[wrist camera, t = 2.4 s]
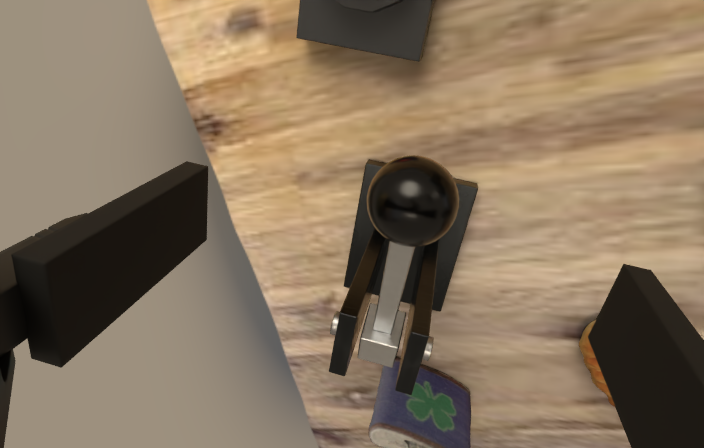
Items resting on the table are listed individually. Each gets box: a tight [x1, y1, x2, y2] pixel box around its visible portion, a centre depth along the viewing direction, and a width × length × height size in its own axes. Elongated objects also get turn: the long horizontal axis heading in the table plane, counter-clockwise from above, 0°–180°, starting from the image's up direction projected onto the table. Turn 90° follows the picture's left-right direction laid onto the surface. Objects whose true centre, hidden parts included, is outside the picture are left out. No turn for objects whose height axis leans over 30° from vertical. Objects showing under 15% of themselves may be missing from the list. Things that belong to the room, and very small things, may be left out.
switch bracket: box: [329, 160, 478, 395], centre depth 33 cm, size 12×9×16 cm
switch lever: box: [358, 155, 459, 368], centre depth 23 cm, size 15×4×4 cm, turn 170°
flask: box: [369, 357, 471, 448], centre depth 41 cm, size 9×3×11 cm, turn 69°
